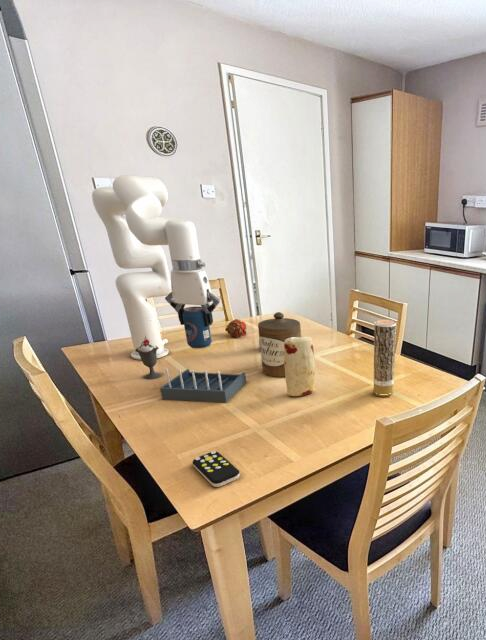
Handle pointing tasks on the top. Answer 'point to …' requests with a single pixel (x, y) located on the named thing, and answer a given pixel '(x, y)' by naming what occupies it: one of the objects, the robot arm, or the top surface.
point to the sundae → (148, 357)
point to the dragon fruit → (236, 328)
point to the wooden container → (276, 342)
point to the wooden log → (384, 357)
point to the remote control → (216, 469)
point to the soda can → (196, 328)
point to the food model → (299, 365)
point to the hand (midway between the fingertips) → (196, 323)
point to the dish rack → (202, 386)
